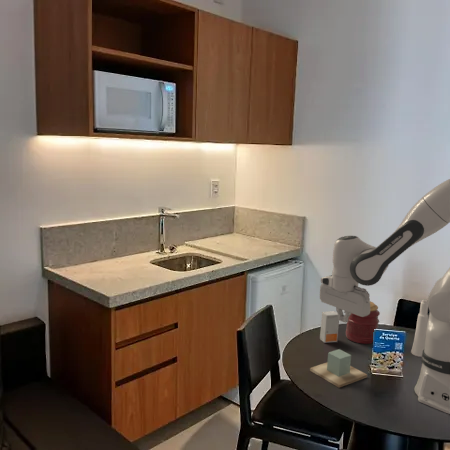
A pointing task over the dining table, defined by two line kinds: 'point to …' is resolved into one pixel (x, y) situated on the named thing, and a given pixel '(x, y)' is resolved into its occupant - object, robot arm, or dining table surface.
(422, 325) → the cosmetic bottle
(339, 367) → the pale green cube
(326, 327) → the skincare box
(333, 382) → the post board
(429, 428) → the dining table surface
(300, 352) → the dining table surface
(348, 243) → the robot arm
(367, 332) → the canister
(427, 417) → the dining table surface
